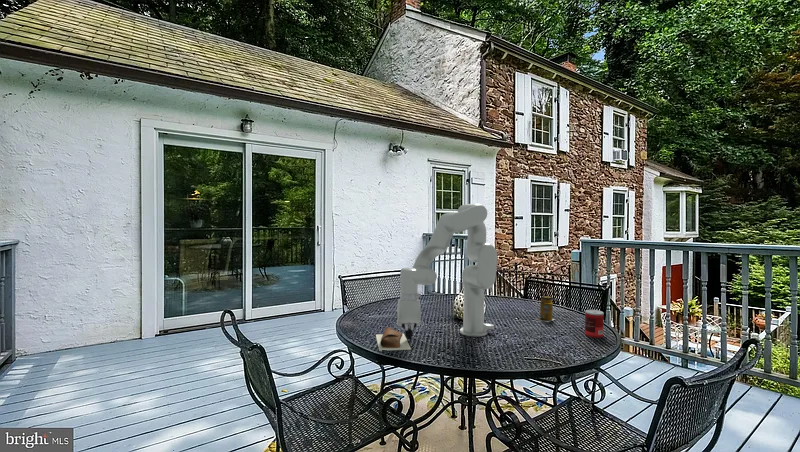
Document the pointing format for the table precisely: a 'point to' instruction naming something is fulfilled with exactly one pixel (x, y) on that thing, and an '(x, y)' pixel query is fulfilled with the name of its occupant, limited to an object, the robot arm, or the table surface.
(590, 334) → the canned food
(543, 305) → the condiment
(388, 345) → the sunglasses case
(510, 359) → the table surface
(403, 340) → the mat
